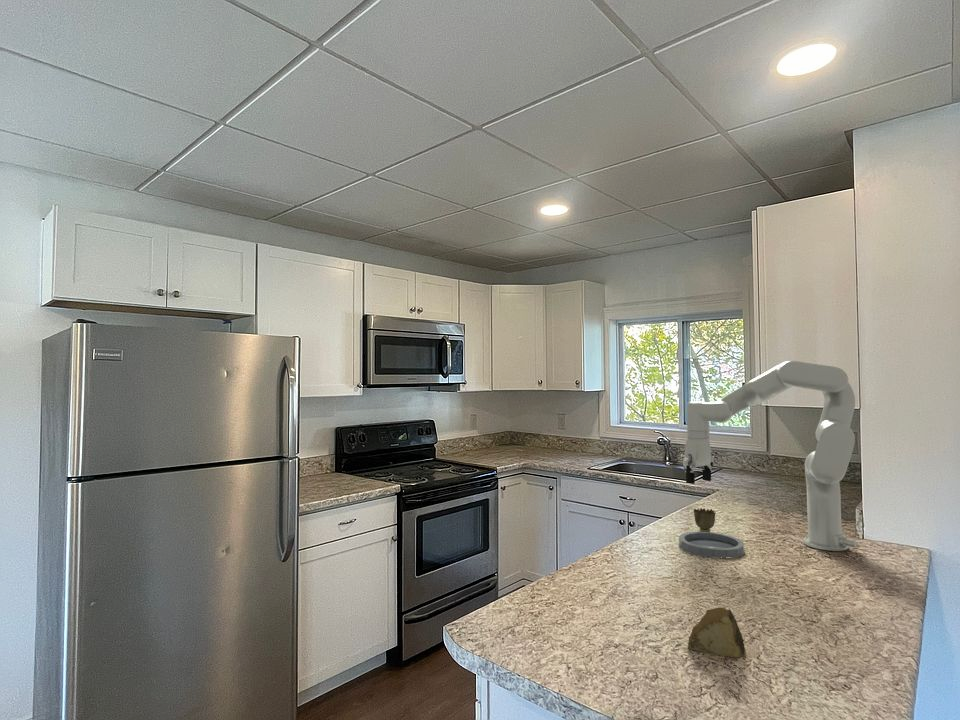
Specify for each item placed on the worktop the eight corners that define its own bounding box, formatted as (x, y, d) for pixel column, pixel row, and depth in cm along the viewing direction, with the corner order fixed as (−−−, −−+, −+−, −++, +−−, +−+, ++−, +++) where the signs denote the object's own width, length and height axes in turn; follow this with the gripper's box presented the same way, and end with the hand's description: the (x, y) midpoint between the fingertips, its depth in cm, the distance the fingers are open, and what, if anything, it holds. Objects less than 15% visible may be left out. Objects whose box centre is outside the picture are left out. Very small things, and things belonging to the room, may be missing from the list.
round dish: (756, 549, 172) (756, 541, 172) (724, 562, 160) (724, 554, 160) (699, 535, 188) (699, 528, 188) (666, 546, 176) (666, 538, 176)
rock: (676, 641, 108) (725, 652, 101) (682, 599, 113) (729, 607, 106) (699, 659, 113) (747, 671, 106) (704, 618, 118) (751, 627, 111)
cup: (718, 535, 187) (717, 513, 188) (696, 534, 189) (695, 512, 189) (713, 529, 195) (712, 508, 195) (692, 529, 196) (691, 507, 196)
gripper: (703, 432, 200) (703, 477, 199) (674, 435, 191) (674, 482, 190) (721, 434, 194) (722, 481, 193) (692, 437, 184) (693, 486, 184)
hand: (698, 481), depth 192 cm, fingers open, 9 cm apart
